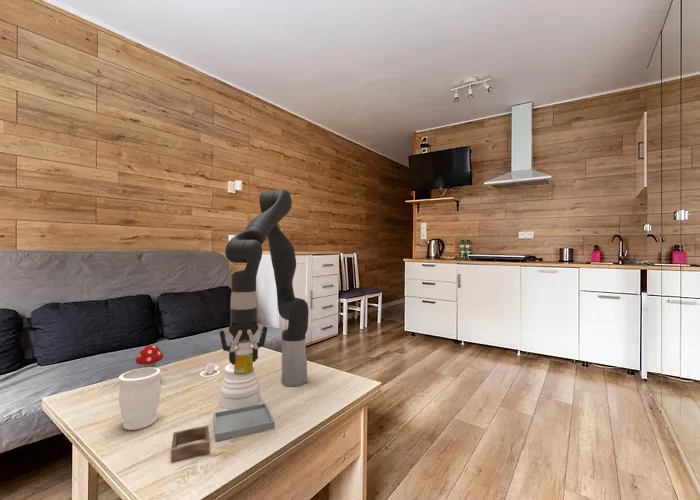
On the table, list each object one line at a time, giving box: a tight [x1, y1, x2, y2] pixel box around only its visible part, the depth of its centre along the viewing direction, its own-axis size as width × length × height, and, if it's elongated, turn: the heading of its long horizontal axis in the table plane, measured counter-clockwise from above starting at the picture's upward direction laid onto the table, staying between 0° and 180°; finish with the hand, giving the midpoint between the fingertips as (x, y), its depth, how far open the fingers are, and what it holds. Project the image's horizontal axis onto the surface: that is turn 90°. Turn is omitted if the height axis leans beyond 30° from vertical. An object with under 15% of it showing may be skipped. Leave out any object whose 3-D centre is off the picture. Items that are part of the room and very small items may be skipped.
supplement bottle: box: [234, 340, 254, 377], centre depth 99 cm, size 5×5×10 cm
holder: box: [170, 424, 210, 463], centre depth 87 cm, size 9×9×3 cm
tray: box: [212, 402, 275, 443], centre depth 99 cm, size 16×13×2 cm
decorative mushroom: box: [135, 344, 164, 368], centre depth 127 cm, size 10×9×15 cm
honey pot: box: [219, 362, 261, 410], centre depth 114 cm, size 13×13×18 cm
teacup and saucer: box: [199, 362, 221, 378], centre depth 139 cm, size 9×8×4 cm
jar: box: [118, 367, 162, 431], centre depth 99 cm, size 11×10×15 cm
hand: (243, 362), depth 99 cm, fingers closed on supplement bottle, 5 cm apart
